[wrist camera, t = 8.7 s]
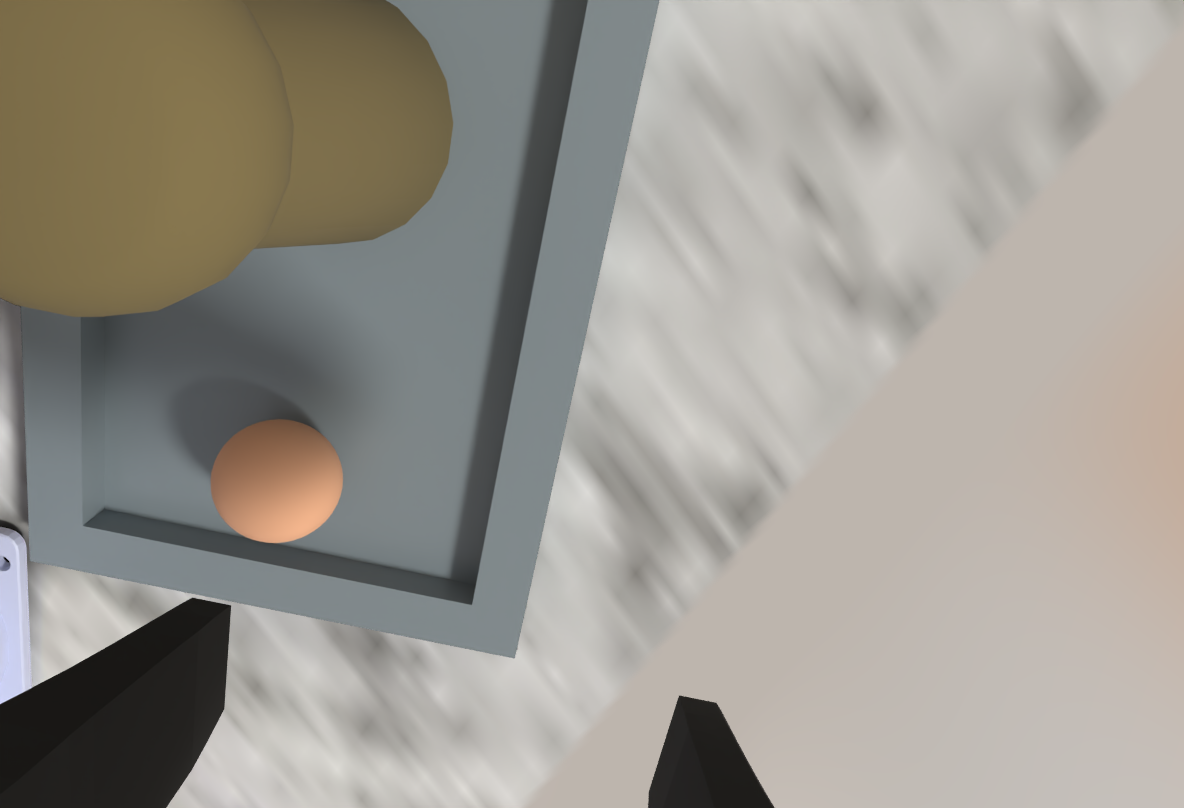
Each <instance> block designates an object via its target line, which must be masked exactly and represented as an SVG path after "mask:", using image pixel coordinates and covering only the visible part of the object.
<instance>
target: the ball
mask: <svg viewBox="0 0 1184 808" xmlns="http://www.w3.org/2000/svg"><path fill="white" fill-rule="evenodd" d="M342 487H343V472H342V466H341V462H340V460H339V457H338V455H337V453H336V451H335V449H334V447H333V446H332V445H331V443H330V442H329V441H328V440H327V439H326V438H325V437H324V436H323V435H322V434H321V433H320V432H318V431H317V430H315V429H314V428H312V427H310V426H308V425H305V424H303V423H300V422H296V421H292V420H285V419H275V420H266V421H262V422H258V423H255V424H253V425H250V426H248V427H246V428H244V429H242V430H241V431H239V432H238V433H236V434H235V435H234V436H233V437H231V439H230V440H229V441H228V442H227V443H226V444H225V445H224V446H223V448H222V449H221V450H220V452H219V454H218V455H217V458H216V460H215V462H214V465H213V469H212V472H211V494H212V498H213V502H214V504H215V507H216V509H217V511H218V513H219V514H220V516H221V517H222V518H223V520H224V521H225V522H226V523H227V524H228V525H229V526H230V527H231V528H232V529H234V530H235V531H236V532H238V533H239V534H241V535H243V536H245V537H247V538H250V539H252V540H256V541H260V542H267V543H282V542H289V541H293V540H296V539H299V538H302V537H304V536H306V535H308V534H310V533H312V532H313V531H315V530H316V529H317V528H319V527H320V526H321V525H322V524H323V523H324V522H325V521H326V520H327V519H328V518H329V517H330V515H331V514H332V513H333V511H334V509H335V507H336V506H337V504H338V501H339V499H340V496H341V492H342Z"/></svg>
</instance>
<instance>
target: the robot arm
mask: <svg viewBox="0 0 1184 808" xmlns="http://www.w3.org/2000/svg"><path fill="white" fill-rule="evenodd" d="M3 557H6V558H7V559H8V560H9V562H10V563H8V562H7V561H6V560H5V559H4V558H3ZM230 614H231V605H226V604H221V603H216V602H211V601H206V600H201V599H196V598H191V599H189V600H187V601H186V602H184V603H182V604H180V605H178V606H177V607H175V608H173V609H172V610H170V611H168V612H166V613H165V614H163V615H161V616H160V617H158V618H156V619H154V620H153V621H151V622H149V623H148V624H146V625H144V626H142V627H141V628H139V629H137V630H136V631H134V632H132V633H130V634H129V635H127V636H125V637H124V638H122V639H120V640H118V641H117V642H115V643H113V644H112V645H110V646H108V647H106V648H105V649H103V650H101V651H99V652H97V653H96V654H94V655H92V656H90V657H89V658H87V659H85V660H83V661H81V662H80V663H78V664H76V665H74V666H73V667H71V668H69V669H67V670H65V671H63V672H62V673H60V674H58V675H56V676H54V677H52V678H50V679H48V680H46V681H44V682H42V683H40V684H38V685H36V686H34V687H32V683H31V657H30V631H29V605H28V578H27V552H26V543H25V540H24V539H23V537H22V536H21V535H20V534H19V533H17V532H16V531H14V530H11V529H8V528H4V527H0V808H166V807H167V806H168V804H169V803H170V801H171V800H172V798H173V797H174V795H175V794H176V792H177V791H178V790H179V788H180V787H181V785H182V784H183V782H184V781H185V779H186V778H187V776H188V775H189V773H190V772H191V770H192V768H193V767H194V765H195V763H196V761H197V759H198V758H199V756H200V754H201V752H202V750H203V748H204V747H205V745H206V743H207V741H208V739H209V737H210V735H211V733H212V731H213V729H214V728H215V726H216V724H217V722H218V720H219V718H220V716H221V714H222V712H223V710H224V704H225V689H226V674H227V659H228V644H229V629H230ZM648 808H774V806H773V804H772V803H771V801H770V799H769V798H768V796H767V795H766V793H765V791H764V789H763V788H762V786H761V784H760V782H759V780H758V779H757V777H756V775H755V773H754V772H753V770H752V768H751V766H750V764H749V763H748V761H747V759H746V757H745V755H744V753H743V751H742V750H741V748H740V746H739V744H738V742H737V740H736V738H735V736H734V734H733V733H732V731H731V729H730V727H729V725H728V723H727V721H726V719H725V717H724V715H723V714H722V712H721V710H720V708H719V707H718V705H717V703H714V702H709V701H704V700H699V699H694V698H689V697H683V696H679V698H678V701H677V704H676V707H675V710H674V714H673V717H672V720H671V723H670V726H669V729H668V733H667V736H666V739H665V742H664V745H663V749H662V752H661V755H660V758H659V761H658V765H657V768H656V771H655V774H654V777H653V780H652V784H651V787H650V790H649V803H648Z"/></svg>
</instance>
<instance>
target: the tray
mask: <svg viewBox="0 0 1184 808" xmlns="http://www.w3.org/2000/svg"><path fill="white" fill-rule="evenodd" d="M386 1H388V2H390V3H391V4H393V5H394V6H396V7H398V8H399V9H400V11H401V12H402V13H403V14H404V15H405V16H406V17H407V18H408V20H409V21H410V22H411V23H412V24H413V25H414V26H415V27H416V28H417V30H418V31H419V32H420V33H421V34H422V35H423V36H424V37H425V39H426V40H427V41H428V43H429V45H430V47H431V49H432V51H433V53H434V55H435V58H436V60H437V62H438V64H439V66H440V68H441V70H442V72H443V74H444V76H445V79H446V81H447V87H448V93H449V99H450V105H451V111H452V118H453V130H452V137H451V145H450V152H449V159H448V164H447V166H446V169H445V171H444V173H443V175H442V177H441V179H440V181H439V183H438V185H437V187H436V189H435V191H434V194H433V196H432V198H431V199H430V200H429V201H428V202H427V203H426V204H425V205H424V206H423V207H422V208H421V209H420V210H419V211H418V212H417V213H416V214H415V215H414V216H413V217H412V218H411V219H410V220H409V221H408V222H407V223H406V224H405V225H403V226H401V227H399V228H397V229H395V230H392V231H390V232H388V233H386V234H384V235H382V236H380V237H378V238H376V239H374V240H367V241H359V242H350V243H341V244H327V245H310V246H293V247H277V248H260V249H253V250H252V251H251V252H250V253H249V254H248V255H247V256H246V257H245V258H244V260H243V261H242V262H241V263H240V264H239V265H238V266H237V267H236V268H235V269H234V270H233V271H232V272H231V274H230V275H229V276H228V277H227V278H225V279H223V280H221V281H219V282H217V283H215V284H213V285H211V286H209V287H207V288H205V289H203V290H201V291H199V292H197V293H195V294H193V295H191V296H189V297H187V298H184V299H182V300H180V301H178V302H176V303H174V304H172V305H169V306H167V307H165V308H163V309H160V310H158V311H152V312H142V313H133V314H124V315H114V316H105V317H72V316H67V315H62V314H57V313H52V312H47V311H42V310H37V309H32V308H28V307H23V306H21V331H22V358H23V385H24V413H25V440H26V467H27V494H28V521H29V548H30V561H33V562H38V563H43V564H48V565H53V566H58V567H63V568H68V569H73V570H78V571H83V572H87V573H92V574H97V575H102V576H107V577H112V578H117V579H122V580H127V581H132V582H137V583H142V584H147V585H152V586H157V587H162V588H167V589H172V590H177V591H182V592H187V593H192V594H197V595H202V596H207V597H212V598H217V599H222V600H227V601H232V602H237V603H242V604H247V605H252V606H257V607H262V608H267V609H271V610H276V611H281V612H286V613H291V614H296V615H301V616H306V617H311V618H316V619H321V620H326V621H331V622H336V623H341V624H346V625H351V626H356V627H361V628H366V629H371V630H376V631H381V632H386V633H391V634H396V635H401V636H406V637H411V638H416V639H421V640H426V641H431V642H436V643H441V644H446V645H450V646H455V647H460V648H465V649H470V650H475V651H480V652H485V653H490V654H495V655H500V656H505V657H510V658H515V654H516V650H517V645H518V641H519V636H520V632H521V627H522V623H523V618H524V613H525V609H526V604H527V600H528V595H529V591H530V586H531V582H532V577H533V573H534V568H535V563H536V559H537V554H538V550H539V545H540V541H541V536H542V532H543V527H544V523H545V518H546V513H547V509H548V504H549V500H550V495H551V491H552V486H553V482H554V477H555V472H556V468H557V463H558V459H559V454H560V450H561V445H562V441H563V436H564V432H565V427H566V422H567V418H568V413H569V409H570V404H571V400H572V395H573V391H574V386H575V382H576V377H577V372H578V368H579V363H580V359H581V354H582V350H583V345H584V341H585V336H586V331H587V327H588V322H589V318H590V313H591V309H592V304H593V300H594V295H595V291H596V286H597V281H598V277H599V272H600V268H601V263H602V259H603V254H604V250H605V245H606V241H607V236H608V231H609V227H610V222H611V218H612V213H613V209H614V204H615V200H616V195H617V190H618V186H619V181H620V177H621V172H622V168H623V163H624V159H625V154H626V150H627V145H628V140H629V136H630V131H631V127H632V122H633V118H634V113H635V109H636V104H637V100H638V95H639V90H640V86H641V81H642V77H643V72H644V68H645V63H646V59H647V54H648V49H649V45H650V40H651V36H652V31H653V27H654V22H655V18H656V13H657V9H658V4H659V0H386ZM275 419H285V420H292V421H296V422H300V423H303V424H305V425H308V426H310V427H312V428H314V429H315V430H317V431H318V432H320V433H321V434H322V435H323V436H324V437H325V438H326V439H327V440H328V441H329V442H330V443H331V445H332V446H333V447H334V449H335V451H336V453H337V455H338V457H339V460H340V462H341V466H342V472H343V487H342V492H341V496H340V499H339V501H338V504H337V506H336V507H335V509H334V511H333V513H332V514H331V515H330V517H329V518H328V519H327V520H326V521H325V522H324V523H323V524H322V525H321V526H320V527H319V528H317V529H316V530H315V531H313V532H312V533H310V534H308V535H306V536H304V537H302V538H299V539H296V540H293V541H289V542H282V543H267V542H260V541H256V540H252V539H250V538H247V537H245V536H243V535H241V534H239V533H238V532H236V531H235V530H234V529H232V528H231V527H230V526H229V525H228V524H227V523H226V522H225V521H224V520H223V518H222V517H221V516H220V514H219V513H218V511H217V509H216V507H215V504H214V502H213V498H212V494H211V472H212V469H213V465H214V462H215V460H216V458H217V455H218V454H219V452H220V450H221V449H222V448H223V446H224V445H225V444H226V443H227V442H228V441H229V440H230V439H231V437H233V436H234V435H235V434H236V433H238V432H239V431H241V430H242V429H244V428H246V427H248V426H250V425H253V424H255V423H258V422H262V421H266V420H275Z"/></svg>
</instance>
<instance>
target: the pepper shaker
mask: <svg viewBox="0 0 1184 808" xmlns="http://www.w3.org/2000/svg"><path fill="white" fill-rule="evenodd" d="M452 130H453V118H452V111H451V105H450V99H449V93H448V87H447V81H446V79H445V76H444V74H443V72H442V70H441V68H440V66H439V64H438V62H437V60H436V58H435V55H434V53H433V51H432V49H431V47H430V45H429V43H428V41H427V40H426V39H425V37H424V36H423V35H422V34H421V33H420V32H419V31H418V30H417V28H416V27H415V26H414V25H413V24H412V23H411V22H410V21H409V20H408V18H407V17H406V16H405V15H404V14H403V13H402V12H401V11H400V9H399V8H398V7H396V6H394V5H393V4H391V3H390V2H388V1H386V0H0V298H2V299H4V300H6V301H8V302H10V303H12V304H14V305H18V306H23V307H28V308H32V309H37V310H42V311H47V312H52V313H57V314H62V315H67V316H72V317H105V316H114V315H124V314H133V313H142V312H152V311H158V310H160V309H163V308H165V307H167V306H169V305H172V304H174V303H176V302H178V301H180V300H182V299H184V298H187V297H189V296H191V295H193V294H195V293H197V292H199V291H201V290H203V289H205V288H207V287H209V286H211V285H213V284H215V283H217V282H219V281H221V280H223V279H225V278H227V277H228V276H229V275H230V274H231V272H232V271H233V270H234V269H235V268H236V267H237V266H238V265H239V264H240V263H241V262H242V261H243V260H244V258H245V257H246V256H247V255H248V254H249V253H250V252H251V251H252V250H253V249H260V248H277V247H293V246H310V245H327V244H341V243H350V242H359V241H367V240H374V239H376V238H378V237H380V236H382V235H384V234H386V233H388V232H390V231H392V230H395V229H397V228H399V227H401V226H403V225H405V224H406V223H407V222H408V221H409V220H410V219H411V218H412V217H413V216H414V215H415V214H416V213H417V212H418V211H419V210H420V209H421V208H422V207H423V206H424V205H425V204H426V203H427V202H428V201H429V200H430V199H431V198H432V196H433V194H434V191H435V189H436V187H437V185H438V183H439V181H440V179H441V177H442V175H443V173H444V171H445V169H446V166H447V164H448V159H449V152H450V145H451V137H452Z"/></svg>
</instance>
